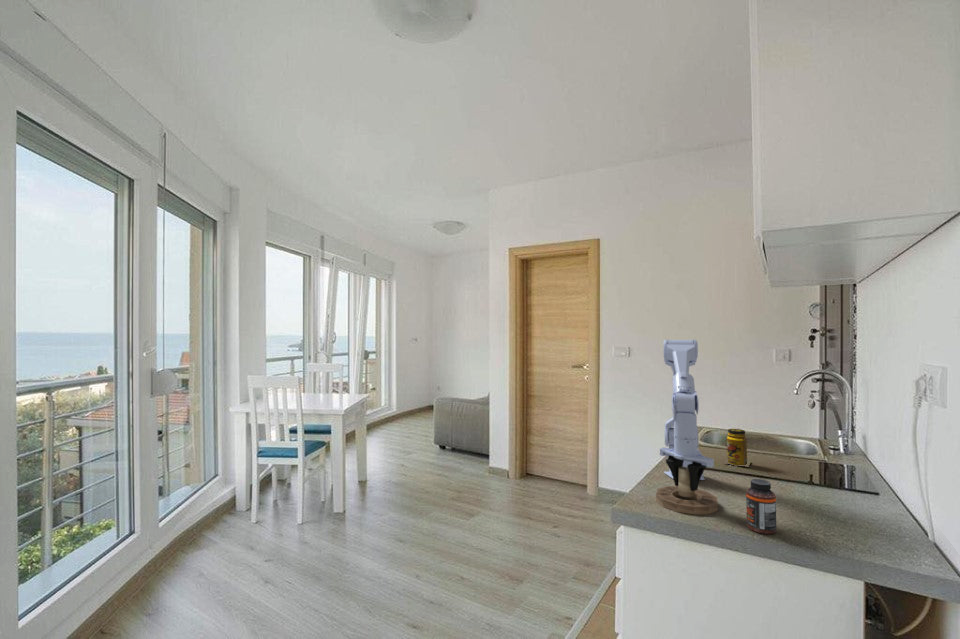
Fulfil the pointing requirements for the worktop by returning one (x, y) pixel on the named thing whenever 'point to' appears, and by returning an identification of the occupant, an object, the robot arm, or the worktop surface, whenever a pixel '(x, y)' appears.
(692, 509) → the walnut ring
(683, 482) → the beech peg
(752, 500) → the supplement bottle
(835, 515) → the worktop surface
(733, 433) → the condiment
